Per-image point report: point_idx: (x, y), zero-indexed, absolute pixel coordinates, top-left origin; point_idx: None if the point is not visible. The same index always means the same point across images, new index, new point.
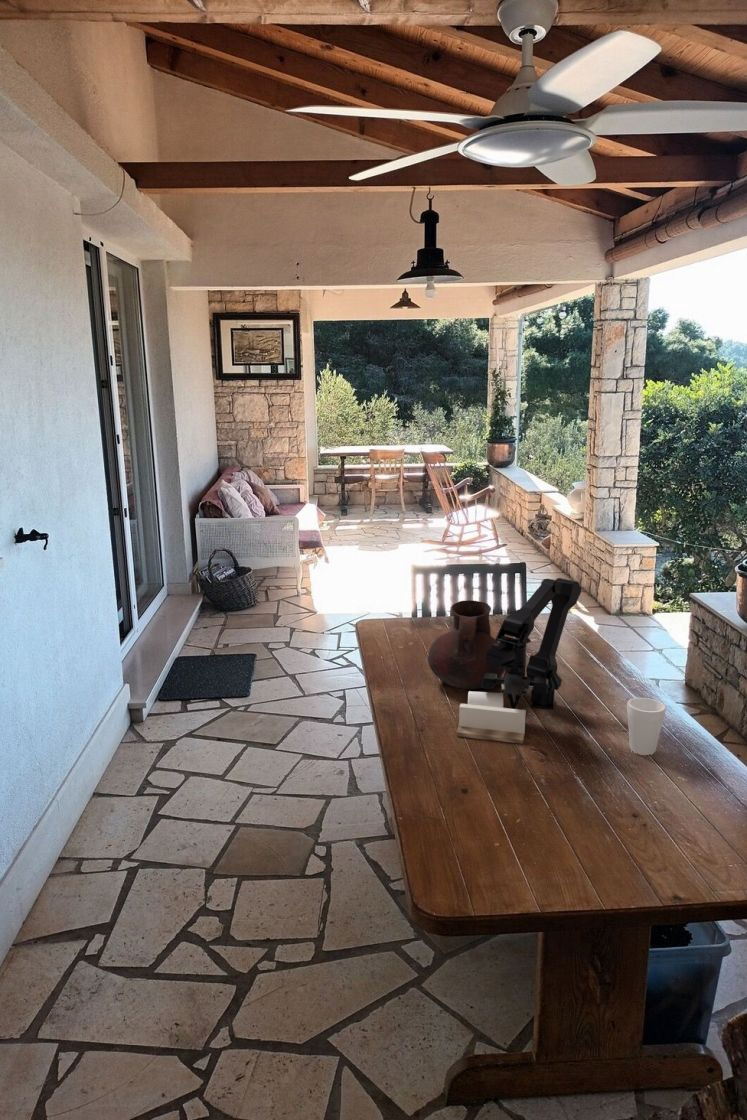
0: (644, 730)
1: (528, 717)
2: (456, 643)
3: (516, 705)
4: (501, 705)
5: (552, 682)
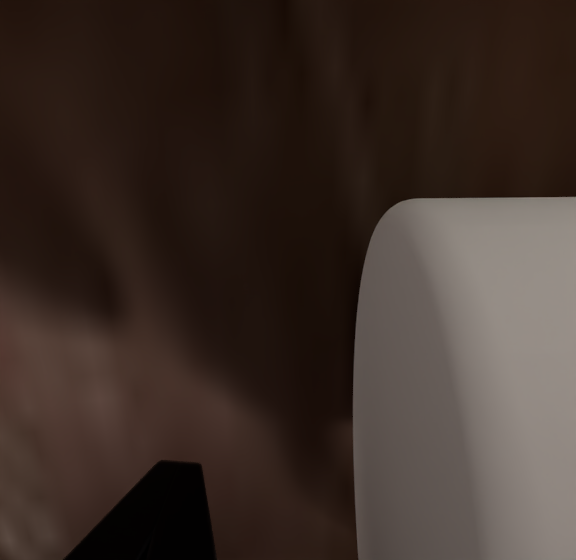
0: None
1: (36, 451)
2: None
3: (76, 557)
4: (546, 373)
5: None
